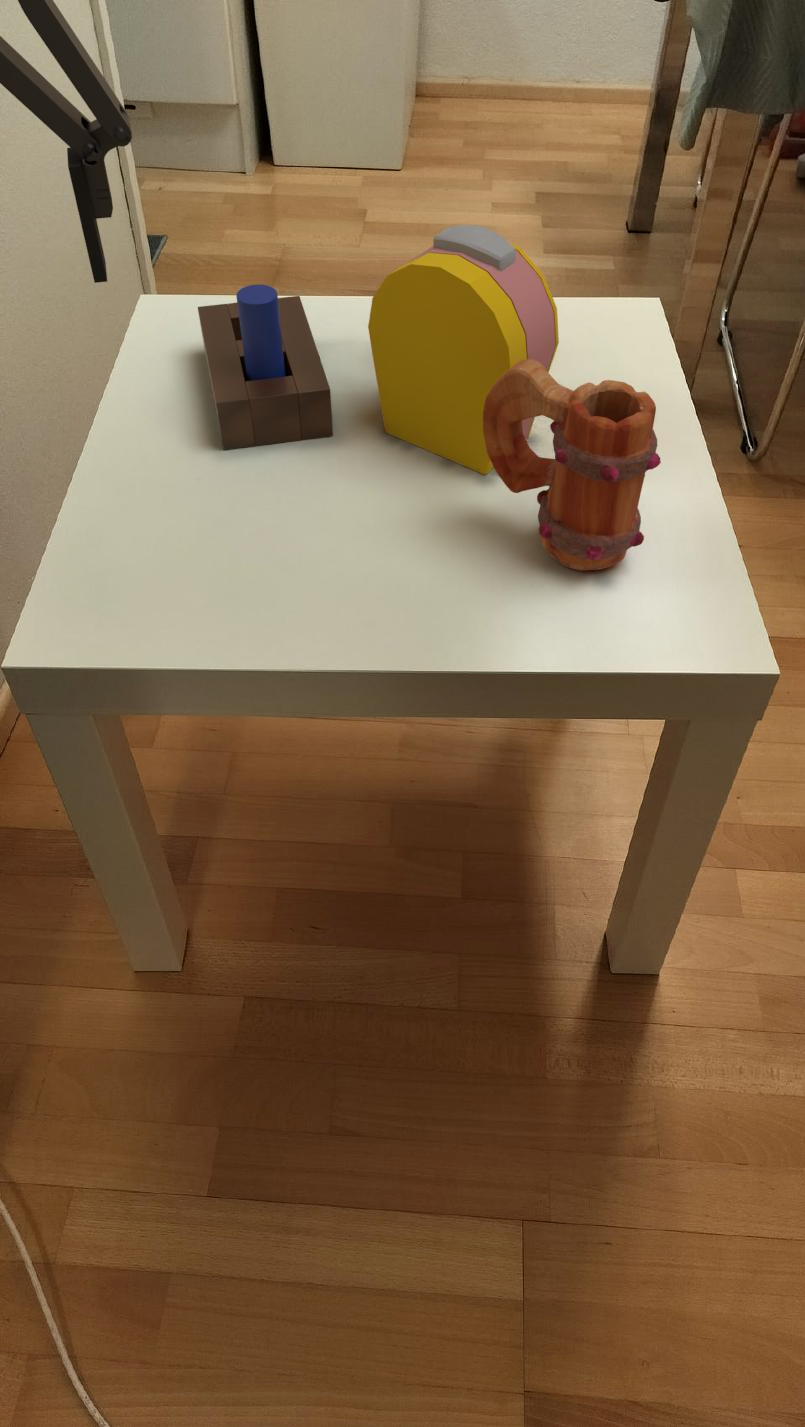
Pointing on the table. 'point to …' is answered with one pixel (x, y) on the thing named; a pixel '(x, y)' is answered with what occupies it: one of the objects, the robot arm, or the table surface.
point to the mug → (575, 460)
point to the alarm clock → (457, 338)
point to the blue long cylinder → (261, 332)
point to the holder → (266, 381)
